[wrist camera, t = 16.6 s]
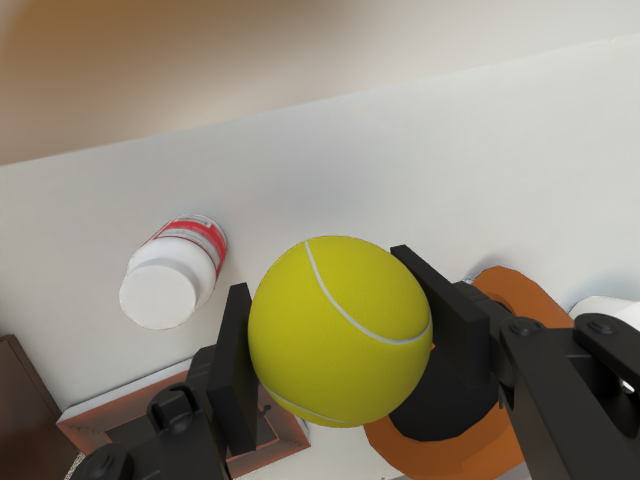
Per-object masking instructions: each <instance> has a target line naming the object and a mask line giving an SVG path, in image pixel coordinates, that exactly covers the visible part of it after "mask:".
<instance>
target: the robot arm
mask: <svg viewBox="0 0 640 480" xmlns="http://www.w3.org/2000/svg"><path fill="white" fill-rule="evenodd" d="M390 251H391V254H392V255H393V256H394V257H396V258H397V259H398V260H399V261H400V262H401V263H402V264H404V265H405V267H406V268H407V269H408V270H409V271H410V272H411V273H412V275H413V276H414V277H415V279H416V280H417V281H418V283H419V285H420V286H421V288H422V290H423V291H424V293H425V295H426V298H427V300H428V303H429V307H430V311H431V315H432V323H433V338H432V343H433V344H434V345H435V347H436V348H437V349H438V350H439V352H440V353H441V354H442V356H443V357H444V358H445V359H446V361H447V362H448V363H449V365H450V366H451V367H452V369H453V370H454V371H455V372H456V374H457V375H458V376H459V378H460V379H461V380H462V382H463V383H464V384H465V385H466V387H467V388H468V389H469V390H472V389H475V388H479V387H482V386H486V385H489V384H490V370H491V371H492V373H493V374H494V375H495V376H496V377H497V378H498V379H499V409H503V402H504V405H505V408H506V411H507V413H508V416H509V419H510V421H511V424H512V427H513V430H514V432H515V435H516V438H517V440H518V443H519V446H520V449H521V451H522V454H523V457H524V459H525V462H526V465H527V468H528V470H529V473H530V476H531V478H532V480H640V331H638V330H637V329H635V328H634V327H632V326H631V325H629V324H628V323H626V322H624V321H622V320H620V319H618V318H616V317H613V316H610V315H606V314H602V313H583V314H580V315H578V316H577V317H576V318H575V319H574V327H569V328H547V327H546V326H545V325H544V324H543V323H541V322H539V321H537V320H535V319H532V318H528V317H523V316H513V315H512V314H511V313H510V312H508V311H507V310H506V309H504V308H503V307H502V306H500V305H499V304H498V303H496V302H495V301H494V300H492V299H490V297H488V296H487V295H486V294H483V292H482V291H480V290H479V289H478V288H477V287H475V286H474V285H471V284H468V283H466V282H463V281H461V282H457V283H453V284H451V283H450V282H449V281H448V280H447V279H445V278H444V277H443V276H442V275H441V274H439V273H438V272H437V271H436V270H435V269H433V268H432V267H431V266H430V265H429V264H428V263H426V262H425V261H424V260H423V259H422V258H420V257H419V256H418V255H417V254H416V253H414V252H413V251H412V250H411V249H410V248H408V247H407V246H406V245H405V244H404V245H399V246H395V247H391V248H390ZM251 305H252V300H251V296H250V293H249V290H248V286H247V283H246V282H245V283H241V284H237V285H232V286H230V290H229V294H228V298H227V303H226V307H225V311H224V315H223V319H222V324H221V328H220V332H219V336H218V340H217V344H215V345H211V346H208V347H204V348H200V350H199V351H198V352H197V353H196V355H195V356H194V357H193V358H192V361H191V364H190V367H189V371H188V373H187V376H186V379H185V382H178V383H175V384H172V385H169V386H168V387H166V388H164V389H163V390H161V391H160V392H159V393H158V394H157V395H155V396H154V397H153V398H152V400H151V401H150V403H149V404H148V406H147V410H146V414H147V416H148V418H149V420H150V422H151V424H152V426H153V428H154V430H155V432H156V434H155V435H154V436H152V437H151V438H149V439H147V440H145V441H143V442H142V443H140V444H138V445H136V446H134V447H132V448H130V449H128V450H127V448H126V446H125V445H124V443H121V442H117V441H116V442H112V443H107V444H105V445H103V446H101V447H99V448H97V449H96V450H94V451H93V452H92V453H90V454H89V455H88V456H86V458H85V459H84V460H83V461H82V462H81V463H80V464H79V465H78V466H77V468H76V469H75V471H74V472H73V474H72V476H71V478H70V480H233V479H232V475H231V472H230V469H229V466H228V464H227V462H226V454H227V446H228V448H229V450H230V453H231V455H232V457H235V456H238V455H242V454H245V453H249V452H252V451H256V441H257V413H258V386H259V378H258V376H257V375H256V372H255V370H254V367H253V364H252V361H251V357H250V351H249V343H248V321H249V315H250V309H251ZM624 381H625V382H626V383H627V384H629V385H630V386H631V387H632V388H633V389H634V392H633V391H631V390H630V389H628V388H627V387H626V386H625V385H624V384H623V382H624Z"/></svg>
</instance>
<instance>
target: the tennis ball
mask: <svg viewBox="0 0 640 480" xmlns="http://www.w3.org/2000/svg"><path fill="white" fill-rule="evenodd" d="M432 338H433V323H432V315H431V311H430V307H429V303H428V300H427V298H426V295H425V293H424V291H423V290H422V288H421V286H420V285H419V283H418V281H417V280H416V279H415V277H414V276H413V275H412V273H411V272H410V271H409V270H408V269H407V268H406V267H405V265H404V264H402V263H401V262H400V261H399V260H398V259H397V258H396V257H394V256H393V255H392V254H390V253H389V252H387V251H385V250H384V249H382V248H380V247H379V246H376V245H374V244H372V243H369V242H367V241H364V240H361V239H357V238H352V237H346V236H322V237H316V238H312V239H309V240H307V241H304V242H301V243H299V244H297V245H295V246H294V247H292V248H291V249H290V250H288V251H287V252H286V253H284V254H283V255H282V256H281V257H280V258H279V259H278V260H277V261H276V262H275V263H274V264H273V265H272V266H271V268H270V269H269V270H268V272H267V273H266V275H265V276H264V278H263V279H262V281H261V283H260V285H259V287H258V289H257V291H256V294H255V296H254V299H253V302H252V305H251V309H250V315H249V321H248V343H249V351H250V357H251V361H252V364H253V367H254V370H255V372H256V375H257V376H258V378H259V380H260V382H261V383H262V385H263V387H264V388H265V389H266V391H267V392H268V393H269V394H270V396H271V397H272V398H273V399H274V400H275V401H276V402H277V403H278V404H279V405H281V406H282V407H283V408H285V409H286V410H287V411H289V412H291V413H292V414H294V415H295V416H297V417H299V418H301V419H303V420H306V421H308V422H311V423H314V424H317V425H321V426H327V427H334V428H349V427H357V426H361V425H364V424H365V423H370V422H373V421H376V420H378V419H381V418H383V417H384V416H386V415H387V414H389V413H390V412H392V411H393V410H394V409H396V408H397V407H398V406H399V405H400V404H401V403H402V402H403V401H404V400H405V399H406V398H407V397H408V396H409V395H410V394H411V393H412V391H413V390H414V388H415V387H416V386H417V384H418V382H419V380H420V378H421V377H422V375H423V372H424V370H425V368H426V365H427V362H428V359H429V355H430V351H431V346H432Z"/></svg>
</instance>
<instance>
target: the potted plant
mask: <svg viewBox="0 0 640 480" xmlns="http://www.w3.org/2000/svg"><path fill="white" fill-rule="evenodd" d="M583 313H602V314H606V315H610V316H613V317H616V318H618V319H620V320H622V321H624V322H626V323H628V324H629V325H631V326H632V327H634V328H635V329H637V330H638V331H640V301H639V302H634V301H628V300H622V299H617V298H611V297H605V296H590V297H588V298H586V299H584V300H582V301H580V302H578V303H577V304H576V305H575V307H574V308H573V309H572V310H571V311H570V312H569V313H568V315H569V316H570V317H571V318H572V319H573V320H574V319H575V318H576V317H577V316H578V315H580V314H583ZM623 384H624V385H625V386H626V387H627V388H628V389H630V390H631V391H633V392H634V389H633V388H632V387H631V386H630V385H629V384H627V383H626V382H625V381H624V382H623Z"/></svg>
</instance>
